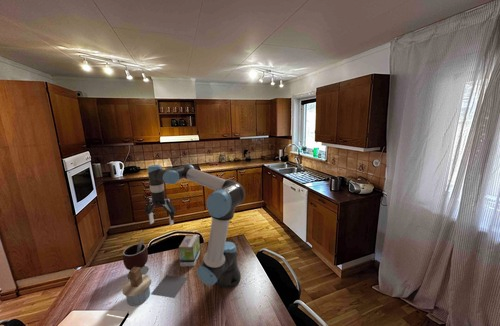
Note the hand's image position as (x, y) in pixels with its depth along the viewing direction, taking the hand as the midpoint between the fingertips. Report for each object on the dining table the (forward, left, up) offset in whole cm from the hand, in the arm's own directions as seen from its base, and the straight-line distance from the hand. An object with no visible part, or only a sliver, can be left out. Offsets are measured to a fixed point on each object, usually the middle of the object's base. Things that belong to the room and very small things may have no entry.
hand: (161, 224), depth 124 cm
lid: (+5, +20, -27) cm, 34 cm away
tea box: (-8, -15, -35) cm, 39 cm away
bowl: (+5, +20, -35) cm, 40 cm away
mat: (-7, +9, -35) cm, 37 cm away
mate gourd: (+20, +2, -35) cm, 40 cm away
